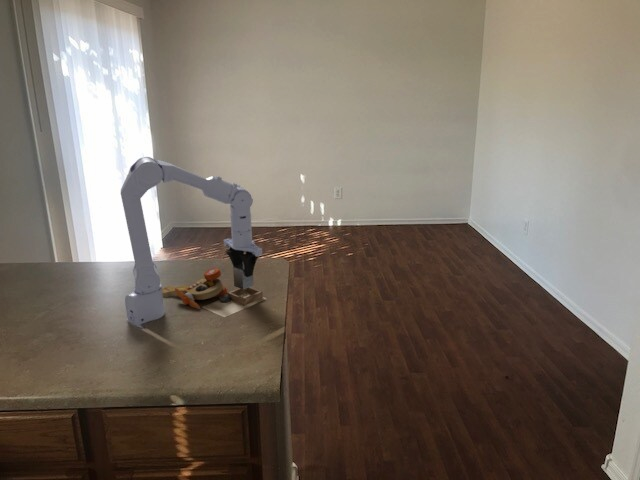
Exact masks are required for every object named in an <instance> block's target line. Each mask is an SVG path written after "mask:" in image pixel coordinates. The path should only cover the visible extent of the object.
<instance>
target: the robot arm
mask: <svg viewBox="0 0 640 480" xmlns="http://www.w3.org/2000/svg"><path fill="white" fill-rule="evenodd" d="M172 181H176V182H178V183H182V184H185V185H187V186H189V187H193V188H196V189H199V190H201V191H202V194H203V195H204V197H207V198H209V199H212V200H214V201H218V202H220V203H223V204H225V205H230V206H229V207H230V229H231V230H230V231H231V238H225V239H223V246H224V247H226V248H227V247H229V249H227V250H226V252H225V253H226V254H227V256H228V258H229V259H230V261H231V263H232V268H233V267H234V266H237V265H240V264H244V269H245V275H246V277H249V276H252V275H253V276H254V269H255V266H256V262H257V260H258V258H259V257H260V256H262V255H263V248H262V247H259V246H258V245H256V244H255V243H256V242H255V241H254V240H253V232H252V231H253V230H252V213H251V207H252V206H253V203H254V199H253V196H252V195H251V193H250V192H249V191H247V190H246V188H244V187H243V186H241V185H238V184H237V183H235V182H234V183H231V182H228V181H226V180H223V178H222V177H221V176H219V175H216V177H215V176H213V175H212V176H208V177H203V176H200V175H199V174H197V173H193V172H191V171H189V170H186V169H185V168H182V167H180V166H177V165H175V164H173V163H170V162H168V161H167V162H166V161H163V160H160V159H157V160H156V159H154V158H153V157H151V156H143V157H140V158H138V159H137V160H136V161H135V162H134V163H133V164H132V165H131V166H130V167H129V170H128V173H127V176H126V177H125V180H124V182H123V184H122V186H121V188H120V196H121V201H122V202H121V203H122V207H123V211H124V216H125V221H126V227H127V232H128V236H129V240H130V245H131V250H132V255H133V260H134V267H133V269H132V271H133V272H132V274H133V277H134V280H135V281H134V286H133V291H132V292H130V293H128V294H126V295H125V297H124V304H125V310H126V319H125V320H126V321H127V322H129V323H130V324H132V325H134V326H136V327H137V328H139V329H144V328H145V326H144V325H143V324H145V323H148V322H152V321H155V320H159V319H161V318H162V317H163V316H165V303H164V298H163V294H162V289H163V288H162V283H161V277H160V275H159V273H158V268H157V266H156V264H155V263H154V262H153V261H154V260H153V257H152V252H151V247H150V242H149V237H148V231H147V227H146V226H147V225H146V221H145V216H144V211H143V205H142V200H141V199H142V197H143V196H144V195H145V194H146V193H147V192H148V190H150V189H152V188H154V187H156V186H157V185H159V184H160V183H161V182H163V183H164V184H165V183H169V182H172Z"/></svg>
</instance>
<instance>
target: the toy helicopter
mask: <svg viewBox="0 0 640 480" xmlns="http://www.w3.org/2000/svg"><path fill="white" fill-rule="evenodd" d="M221 275H222V273H221V270H220V269H219V268H217V267H214V268H210V269H208V270H206V271H204V274H203V276H204V278H199V279H198V280H197V281H196V282H194V283H191V284H190V285H184V286H174V285H169V286H166V287H163V288H162V294H163V299H165V298H168V297H179V298H180V299H181V301H182V303H183V304H184V305H189V307H191V308H195V309H197V310H201V307H200V305H199V304H198V303H197V302H196V301H203V300H208V299H211V298H220V296H221V295H224V294H227V295H228V289H227V287H226V286H225V285H223V283H222V281H221V280H220V277H221Z"/></svg>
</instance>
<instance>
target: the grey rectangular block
mask: <svg viewBox="0 0 640 480" xmlns="http://www.w3.org/2000/svg"><path fill="white" fill-rule="evenodd" d="M232 270H233V284H234V285H233V286H234V287H236V288H237V289H238V288H241V289H243V290H244V289H246V288H249V287H253V286H254V285H255V284H254V283H255V282H254V274H253V275H252V276H249V277H246V275H245V269H244V264H240V265H237V266H234V267H233V266H232Z"/></svg>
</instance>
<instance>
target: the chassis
mask: <svg viewBox="0 0 640 480" xmlns="http://www.w3.org/2000/svg"><path fill="white" fill-rule="evenodd" d="M267 299H268V298H266V297H264V296H263V291H262V290H259V289H257V288H254V287H253V286H251V287H249V288H246V289H244V290H243V289H241V288H238V287H237V289H234V290H231V291H229V292H228V291H227V294H224V295H221V296H220V297H219V299H218V300H216V301H214V302H212V303H209V304H207V305H204V306H202V307H201V308H203V309H205V310H207V311H209V312H211V313H213V314H216V315H218V316H220V317H223V318H227V317H229V316H232V315H234V314H236V313H238V312H240V311H242V310H245V309H247V308H249V307H252V306H254V305H256V304H258V303H260V302H263V301H265V300H267Z"/></svg>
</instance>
